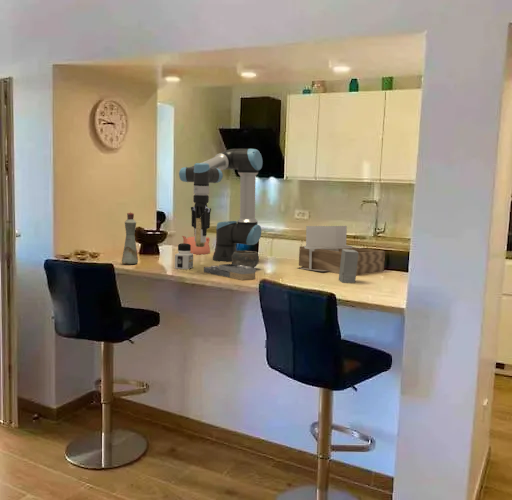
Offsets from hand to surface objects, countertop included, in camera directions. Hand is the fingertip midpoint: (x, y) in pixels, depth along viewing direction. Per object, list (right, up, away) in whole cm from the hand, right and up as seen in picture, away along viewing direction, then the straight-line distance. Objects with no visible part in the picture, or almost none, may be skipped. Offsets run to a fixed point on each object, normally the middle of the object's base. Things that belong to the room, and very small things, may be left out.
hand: (200, 241), depth 285 cm
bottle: (-41, -12, +27) cm, 51 cm away
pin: (0, -2, 0) cm, 2 cm away
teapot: (-11, -8, +78) cm, 79 cm away
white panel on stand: (+67, -14, +33) cm, 76 cm away
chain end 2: (+19, -17, -6) cm, 26 cm away
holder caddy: (+75, -15, +33) cm, 83 cm away
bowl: (+22, -15, +18) cm, 32 cm away
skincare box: (+72, -20, -11) cm, 75 cm away
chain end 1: (+11, -16, +2) cm, 20 cm away
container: (-10, -14, +17) cm, 25 cm away
